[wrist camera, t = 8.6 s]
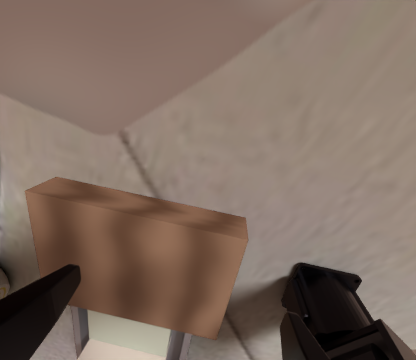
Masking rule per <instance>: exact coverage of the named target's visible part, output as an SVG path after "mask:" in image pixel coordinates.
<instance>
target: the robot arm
mask: <svg viewBox="0 0 416 360" xmlns="http://www.w3.org/2000/svg"><path fill="white" fill-rule="evenodd" d="M302 268H303V269H302ZM80 282H81V271H80V266H79V265H76V264H68V265H66V266H64V267H62V268H60V269H58V270H56V271H54V272H52V273H50V274H48V275H46V276H44V277H43V278H41V279H39V280H37V281H35V282H33V283H31V284H29V285H27V286H25V287H23V288H21V289H19V290H18V291H16V292H14V293H12V294H10V295H8V296H6V297H4V298H2V299H0V360H29V359H30V358H31V357H32V355H33V354H34V352H35V351H36V350H37V348H38V347H39V346H40V344H41V343H42V342H43V340H44V339H45V337H46V336H47V335H48V333H49V332H50V331H51V329H52V328H53V326H54V325H55V323H56V322H57V321H58V319H59V317H60V316H61V314H62V313H63V311H64V309H65V308H66V306H67V304H68V303H69V301H70V299H71V298H72V296H73V294H74V293H75V291H76V289H77V288H78V286H79V284H80ZM361 282H362V280H361V278H360V277H359V276H358V275H355V274H351V273H346V272H342V271H337V270H333V269H328V268H324V267H319V266H315V265H310V264H306V263H301V264H299V265H298V267H297V269H296V271H295V273H294V276H293V278H292V279H291V280H290V282H289V284H288V286H287V288H286V290H285V292H284V295H283V299H282V306H283V307H285V308H287V312H286V313H285V315H284V318H283V320H282V322H281V325H280V335H281V346H282V358H283V360H416V355H415V354H414V353H413V351H412V350H411V349H410V348H409V347H408V346H407V345H406V344H405V343H404V342H403V341H402V340H401V339H400V338H399V337H398V336H397V335H396V334H395V333H394V332H393V331H392V330H391V329H390V328H389V327H388V326H387V325H386V324H385V323H384V322H383V321H382V320H381V319H378V320H376V321H374V320H373V318H372V317H371V315H370V314H369V312H368V311H367V309H366V307H365V306H364V304H363V303H362V301H361V300H360V298H359V296H358V295H357V293H356V292H355V291H356V290H357V288H358V287H359V285H360V284H361Z"/></svg>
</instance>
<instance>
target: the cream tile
mask: <svg viewBox="0 0 416 360" xmlns="http://www.w3.org/2000/svg"><path fill="white" fill-rule="evenodd" d="M170 341H171V338H170ZM169 347H170V342H169V346H168V350H167V354H166V357H163V356H159V355H154V354H150V353H146V352H142V351H138V350H134V349H130V348H126V347H122V346H118V345H114V344H109V343H105V342H101V341H97V340H93V339H89V341H88V343H87V344H86V346H85V348H84V349H83V351H82V353H81V354H80V356H79V358H78V359H77V360H166V359H167V355H168V351H169Z"/></svg>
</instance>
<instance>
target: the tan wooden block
mask: <svg viewBox="0 0 416 360" xmlns="http://www.w3.org/2000/svg"><path fill="white" fill-rule="evenodd" d="M25 194H26V200H27V205H28V211H29V216H30V222H31V227H32V233H33V238H34V243H35V249H36V254H37V260H38V265H39V271H40V276H41V278H43V277H44V276H46V275H48V274H50V273H52V272H54V271H56V270H58V269H60V268H62V267H64V266H66V265H68V264H76V265H79V266H80V271H81V282H80V284H79V286H78V288H77V289H76V291H75V293H74V294H73V296H72V298H71V299H70V301H69V303H68V304H67V305H70V306H74V307H79V308H83V309H87V310H91V311H96V312H100V313H104V314H108V315H112V316H117V317H121V318H125V319H129V320H133V321H138V322H142V323H146V324H150V325H154V326H159V327H163V328H167V329H171V330H176V331H180V332H184V333H188V334H192V335H197V336H201V337H205V338H209V339H213V340H216V339H217V336H218V333H219V330H220V327H221V324H222V320H223V317H224V314H225V311H226V308H227V305H228V302H229V299H230V296H231V293H232V289H233V286H234V283H235V280H236V277H237V274H238V271H239V268H240V265H241V261H242V258H243V255H244V252H245V249H246V246H247V243H248V233H247V224H246V218H244V217H239V216H234V215H230V214H225V213H221V212H216V211H211V210H207V209H202V208H198V207H193V206H188V205H184V204H179V203H175V202H170V201H165V200H161V199H156V198H152V197H147V196H142V195H138V194H133V193H129V192H124V191H119V190H115V189H110V188H106V187H101V186H96V185H92V184H87V183H82V182H78V181H73V180H69V179H64V178H59V177H55V178H53V179H50V180H48V181H46V182H44V183H41V184H39V185H37V186H35V187H32V188H30V189H28V190H26V191H25Z"/></svg>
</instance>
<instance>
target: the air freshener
mask: <svg viewBox="0 0 416 360" xmlns="http://www.w3.org/2000/svg"><path fill="white" fill-rule="evenodd" d="M9 288H10V285H9V282H8V279H7V277H6V275H5V273H4V272H3V270H2V269H1V268H0V299H2V298H4V297H6V296H7V294H8V292H9Z"/></svg>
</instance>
